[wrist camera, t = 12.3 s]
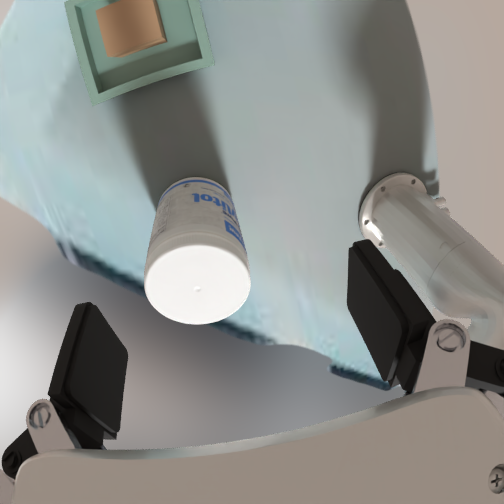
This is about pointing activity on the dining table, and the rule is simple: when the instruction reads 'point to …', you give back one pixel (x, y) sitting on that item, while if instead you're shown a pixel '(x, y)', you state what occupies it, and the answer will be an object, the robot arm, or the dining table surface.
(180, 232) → the supplement tub
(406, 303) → the robot arm
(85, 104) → the dining table surface
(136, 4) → the walnut block
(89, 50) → the rest tray
